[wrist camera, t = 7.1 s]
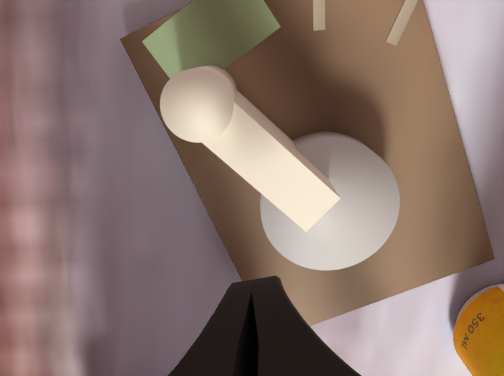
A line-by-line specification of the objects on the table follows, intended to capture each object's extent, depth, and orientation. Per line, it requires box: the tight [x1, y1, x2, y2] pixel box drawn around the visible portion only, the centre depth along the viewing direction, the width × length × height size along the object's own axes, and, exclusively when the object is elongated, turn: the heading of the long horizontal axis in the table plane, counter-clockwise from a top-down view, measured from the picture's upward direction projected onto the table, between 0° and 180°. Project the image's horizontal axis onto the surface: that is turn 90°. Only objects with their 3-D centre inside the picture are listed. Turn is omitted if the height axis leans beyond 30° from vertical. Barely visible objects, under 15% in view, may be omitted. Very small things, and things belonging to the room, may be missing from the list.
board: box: [120, 0, 494, 326], centre depth 19 cm, size 13×18×1 cm
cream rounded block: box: [160, 65, 400, 270], centre depth 16 cm, size 11×6×5 cm, turn 48°
